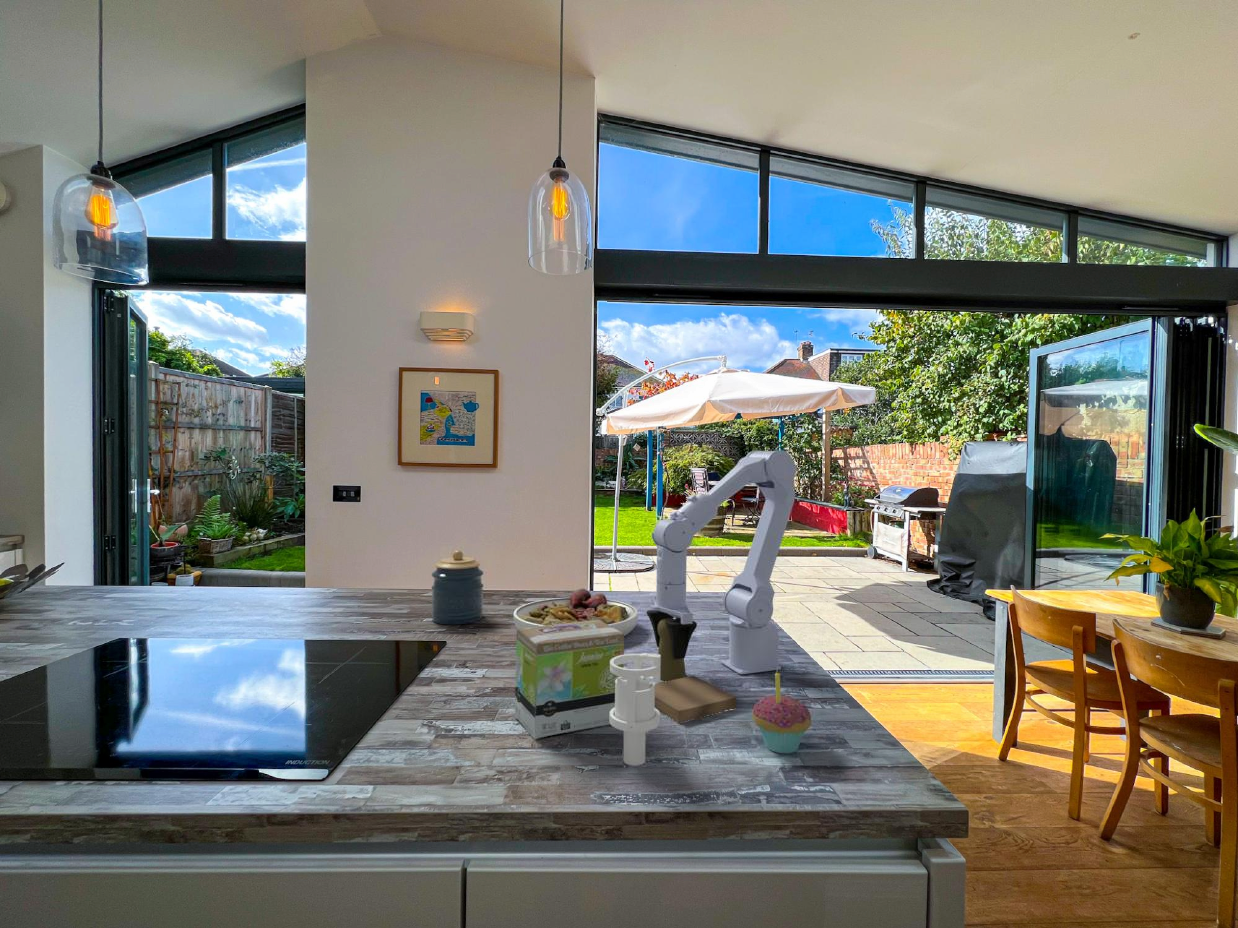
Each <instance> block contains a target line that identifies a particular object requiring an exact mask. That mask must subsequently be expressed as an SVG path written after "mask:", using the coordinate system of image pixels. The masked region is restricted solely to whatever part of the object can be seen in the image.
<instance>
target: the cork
mask: <svg viewBox="0 0 1238 928" xmlns="http://www.w3.org/2000/svg"><path fill="white" fill-rule="evenodd" d="M666 621H676V618H673V619H663V620H661V621H660V622H659V624H658V634H659V636H660V643H659V648H658V651H657V652H658V653H657V654H659V655H661V663H660V680H661V681H660V682H664V681H670V680H675V679H680V678H685V677H687V673H686V664H685V658H683V659H674V658H673V654H672V645H671V637H670V633H669V630H668V628H667V625H666Z"/></svg>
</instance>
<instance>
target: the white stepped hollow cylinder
mask: <svg viewBox="0 0 1238 928" xmlns="http://www.w3.org/2000/svg"><path fill="white" fill-rule="evenodd" d="M628 663H629V664H630V663H633V664H634V668H626V667H623V668H622V667H619V666H617V665H620V664H628ZM660 663H661V655H659V654H658V653H657V654H656V653H655V654H654V653H648V652H643V653H640V654H639V653H628V654H624V655H620V656H616V657H614V658H612V659H611V660H610V672H611V673H613V674H614V675H617V676H620V677H618V678H617V679H616V680H615V707H614V708H612V709H611V710H610V717H609V721H610V724H611V725H610V726H611V727H613V728H614V729H617V730H620V731H623V762H624V764H625V765H628V766H634V767H637V766H642V765H643V764H645V762H646V740H647V739H646V732H648V731H652V730H654V729H656V728H657V727H659V726H660V724H661V712H659V711H658V710H657V709H656V708H655V684H656V683H661V681H660ZM643 664H646V665H650V666H651V667H648V668H646V667H645V668H643ZM650 682H651V684H652V687H651V688H650V689H649V685H650Z"/></svg>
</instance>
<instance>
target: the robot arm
mask: <svg viewBox="0 0 1238 928" xmlns="http://www.w3.org/2000/svg"><path fill="white" fill-rule="evenodd" d="M797 471H798V467H797V465H796V463H795V461H794V459H793V457H792V455H791V454H790V453H789V452H787V451H786V450H783V449H782V450H781V449H779V450H778V449H777V450H759V449H758V450H752V451H750V452H748V453H747V454H746V456H744V457H742V458H740V459H739V461H738V462H737V463H736V465H735V466H734V467H733V468H732V469H731V470H729V472H728V473H727V474H726V475H724V477H722V478H721V479H720V480H719V481H718V482H717V483H716V484H715V485H714V486H712V487H711V489H710V490H709V491H708V492H706V494H705V493H696V494H695V495H694V494H690V495H689V496H688V497H687V502H686V503H685V504H683V505H682V506H680V508H679V509H677V511H672V512H671V513H669V515H670V518H666V519H664V518H663V519H661V520H660V521H658V522H657V523H656V525H655V526H654V527H655V528H654V529H653V532H652V533H651V539H652V541H653V543H654V544H655V545H656V590H655V591H656V596H651V604H650V609H648V610H646V614H647V616H648V618H649V621H650V623H651V627H652V630H653V633H654V640H655V644H656V647H657V648H658V649H659V643H660V636H659V634H658V624H659V622H660V621H661V620H663V619H676V621H666V625H667V628H668V630H669V633H670V637H671V645H672V654H673V658H674V659H683V658H684V659H685V658H686V656H687V651H688V647H689V644H690V640H691V638H692V635H693V633H694V632H695V630H696V628H697V627H698V623H697V621H695V620H693V618H694V617H693V612H692V611H690V609H689V607H688V604H687V548H690V547H691V545H692V543H693V539H694V536H695V535H696V534H698V533H699V532H700V531H701V530H702V529H703V528H704V527H706V526H707V525H708V524H709V523H710V522H711V521H712V520H714V519H715V518H716V517H717V516H718V508H719V507H720V506H721V505H722V504H723V503H725V502H726V501H727V500H728V499H730V498H732V497H733V496H734V495H735V494H736V493H738V492H739V491H740V490H742V489H743V488H744V487H745V486H747V485H748V484H754V485H756V487H757V488H758V489H760V491H761V493H762V495H763V496H764V498H765V501H764V504H763V508H762V510H761V514H760V517H759V521H758V523H757V526H756V530H755V533H754V536H753V539H752V543H751V546H750V548H749V552H748V555H747V558H746V561H745V565H744V568H743V571H742V572H741V573H739V574H738V575H737V576H735V577H734V578H733V581H732V583H731V586H730V587H729V588H728V589H727V591H726V592H725V594H724V596H723V603H722V604H723V607H724V610H725V611H726V613H727V614H728V620H729V624H728V625H729V636H728V637H729V639H728V645H729V647H728V649H729V650H728V652H729V653H728V656H729V657H728V659H727V658H726V659H725V658H724V659H720V663H721V664H722V665H725V666H726V667H727V668H729V669H731V671H734V672H736V673H737V674H738V675H746V674H747V675H748V674H755V673H756V674H757V673H763V672H770V671H776V669H778V671H779V670H781V668H782V666H780V663H779V661H780V660H779V658H780V656H779V655H780V654H779V651H780V649H779V648H780V636H779V635H780V634H779V631H778V629H777V627H776V625H775V624H774V623H773V622H772V621H770V620H771V619H772V616H773V614H774V603H773V602H774V597H775V594H776V593H775V589H774V588H773V586H772V583H771V577H772V574H773V572H774V570H773V569H774V567H775V564H776V560H777V557H778V554H779V550H780V547H781V544H782V541H783V538H784V534H785V532H786V528H787V525H788V521H789V519H790V516H791V513H792V510H793V506H794V503H795V498H796V492H795V491H796V490H795V477H796V473H797Z"/></svg>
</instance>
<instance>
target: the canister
mask: <svg viewBox="0 0 1238 928" xmlns="http://www.w3.org/2000/svg"><path fill="white" fill-rule="evenodd" d="M479 566H481V562H480V561H478V560H476V559H475V558H473V557H469V556H467V557H466V556H464V553H463V552H462V551H461V550H455V551H453V553H452V557H445V558H442V559H440V561H438V562H436V563H435V564H434V567H435V568H436V570H434V571H433V572H432V573H431V577H432V578H433V584H432V586H431V593H432V594H431V595H432V598H431V601H432V602H431V603H432V605H431V606H432V607H431V618H432V621H433V622H435V623H437V624H442V625H463V624H470V623H475V622H477V621H479V620H481V619H482V618H483V614H484V606H483V603H484V601H483V600H484V599H483V598H484V596H483V595H484V584H483V582H482V576H483V575H484V571H483V570H482V569H480V567H479Z"/></svg>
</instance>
